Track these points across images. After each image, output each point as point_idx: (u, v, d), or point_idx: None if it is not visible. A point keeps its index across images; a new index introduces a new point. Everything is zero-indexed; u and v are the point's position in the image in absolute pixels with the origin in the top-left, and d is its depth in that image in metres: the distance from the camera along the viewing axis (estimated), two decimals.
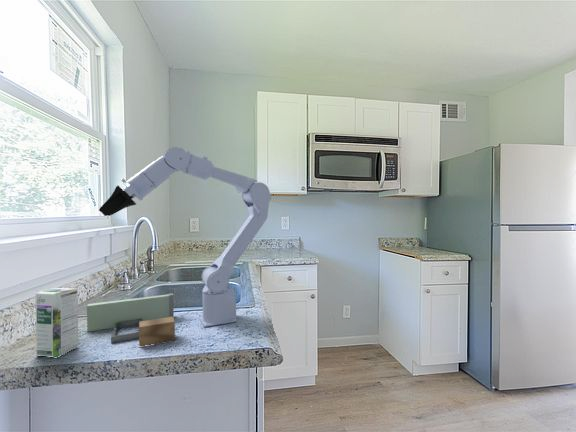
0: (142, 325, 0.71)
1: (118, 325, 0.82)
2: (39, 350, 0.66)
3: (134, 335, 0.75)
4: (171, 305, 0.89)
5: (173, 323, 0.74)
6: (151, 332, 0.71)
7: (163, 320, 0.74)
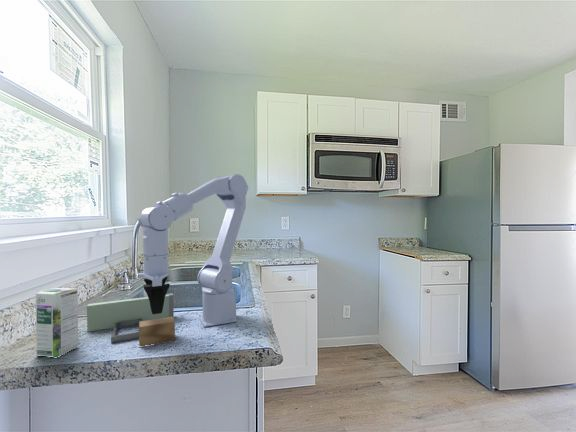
0: (142, 325, 0.71)
1: (118, 325, 0.82)
2: (39, 350, 0.66)
3: (134, 335, 0.75)
4: (171, 305, 0.89)
5: (173, 323, 0.74)
6: (151, 332, 0.72)
7: (163, 320, 0.74)
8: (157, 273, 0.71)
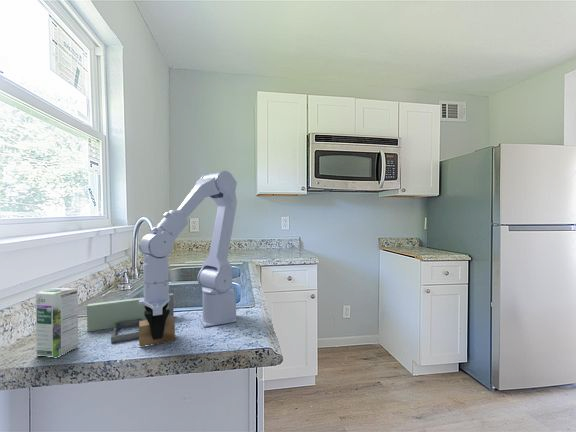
0: (142, 325, 0.71)
1: (118, 325, 0.82)
2: (39, 350, 0.66)
3: (134, 335, 0.75)
4: (171, 305, 0.89)
5: (173, 322, 0.74)
6: None
7: None
8: (158, 300, 0.71)
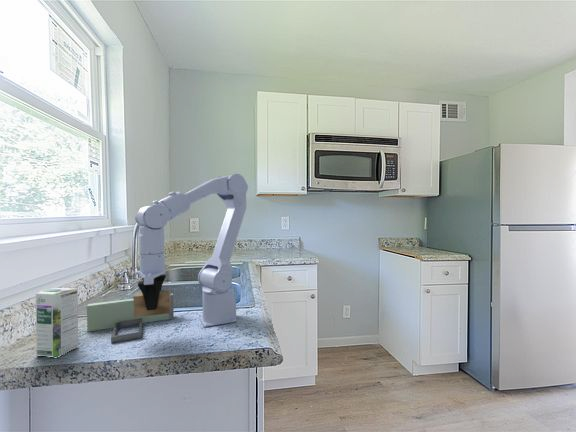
0: (137, 295, 0.72)
1: (118, 325, 0.82)
2: (39, 350, 0.66)
3: (134, 335, 0.75)
4: (171, 305, 0.89)
5: (167, 295, 0.74)
6: None
7: None
8: (151, 271, 0.72)
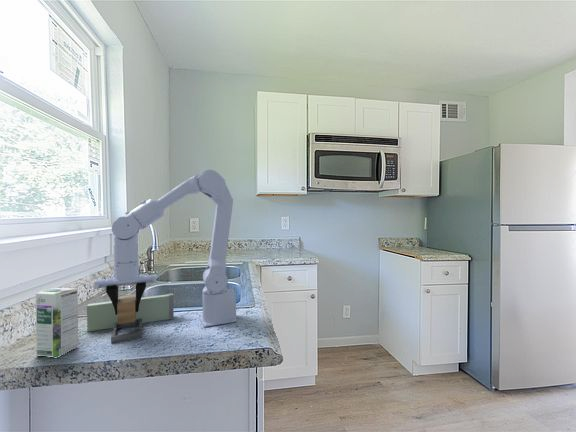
0: (121, 297, 0.81)
1: (118, 325, 0.82)
2: (39, 350, 0.66)
3: (134, 335, 0.75)
4: (171, 305, 0.89)
5: (117, 306, 0.75)
6: None
7: (126, 300, 0.78)
8: (114, 278, 0.77)
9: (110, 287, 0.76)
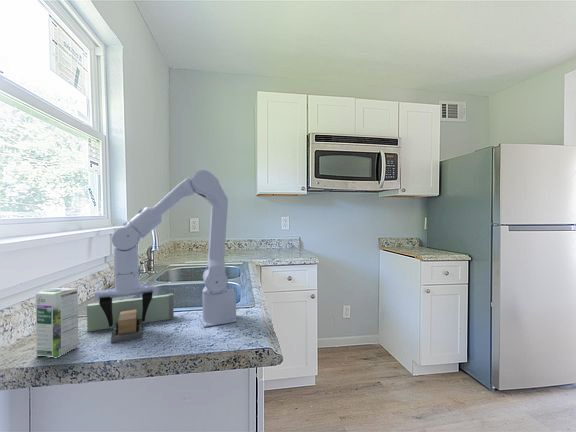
0: (122, 312, 0.81)
1: None
2: (39, 350, 0.66)
3: (134, 335, 0.75)
4: (171, 305, 0.89)
5: (118, 322, 0.75)
6: None
7: (127, 316, 0.78)
8: (114, 289, 0.77)
9: (110, 298, 0.76)
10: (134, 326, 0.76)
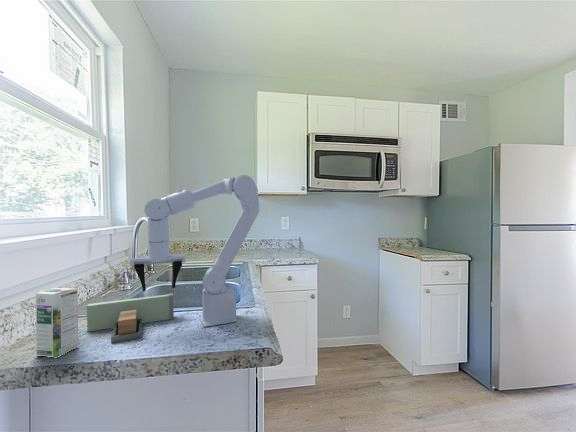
0: (122, 312, 0.81)
1: None
2: (39, 350, 0.66)
3: (134, 335, 0.75)
4: (171, 305, 0.89)
5: (118, 322, 0.75)
6: None
7: (127, 316, 0.78)
8: (147, 257, 0.83)
9: (144, 265, 0.82)
10: (134, 326, 0.76)
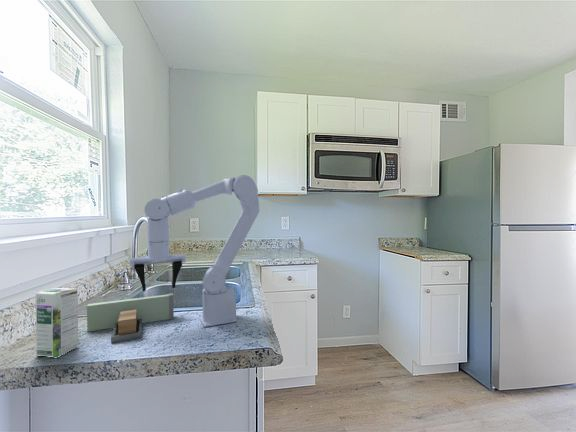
0: (122, 312, 0.81)
1: None
2: (39, 350, 0.66)
3: (134, 335, 0.75)
4: (171, 305, 0.89)
5: (118, 322, 0.75)
6: None
7: (127, 316, 0.78)
8: (147, 257, 0.83)
9: (144, 265, 0.82)
10: (134, 326, 0.76)
